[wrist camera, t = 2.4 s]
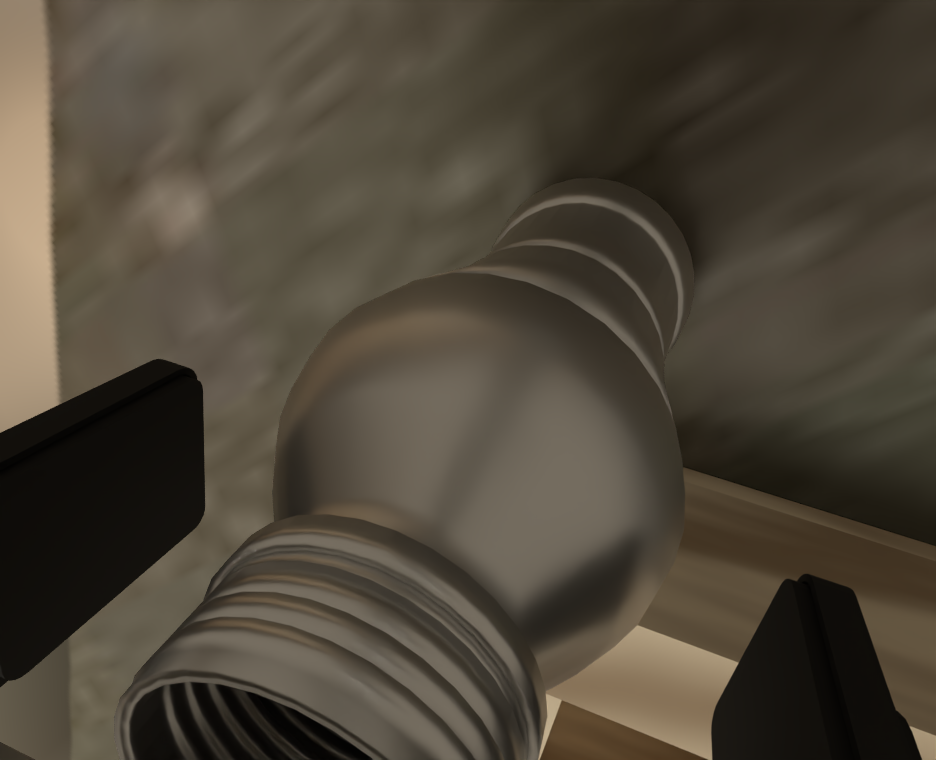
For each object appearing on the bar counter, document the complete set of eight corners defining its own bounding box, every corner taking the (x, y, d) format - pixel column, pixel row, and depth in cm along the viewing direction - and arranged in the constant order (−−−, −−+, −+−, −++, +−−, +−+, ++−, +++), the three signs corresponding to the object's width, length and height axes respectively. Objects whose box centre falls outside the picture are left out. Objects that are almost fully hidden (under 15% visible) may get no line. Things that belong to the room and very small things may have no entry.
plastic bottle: (567, 377, 25) (276, 1038, 8) (478, 227, 23) (-125, 614, 6) (728, 304, 22) (858, 1134, 4) (636, 127, 20) (319, 340, 3)
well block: (531, 419, 26) (461, 560, 18) (1013, 570, 22) (1182, 827, 15) (461, 694, 34) (393, 870, 27) (804, 837, 31) (840, 1090, 23)
